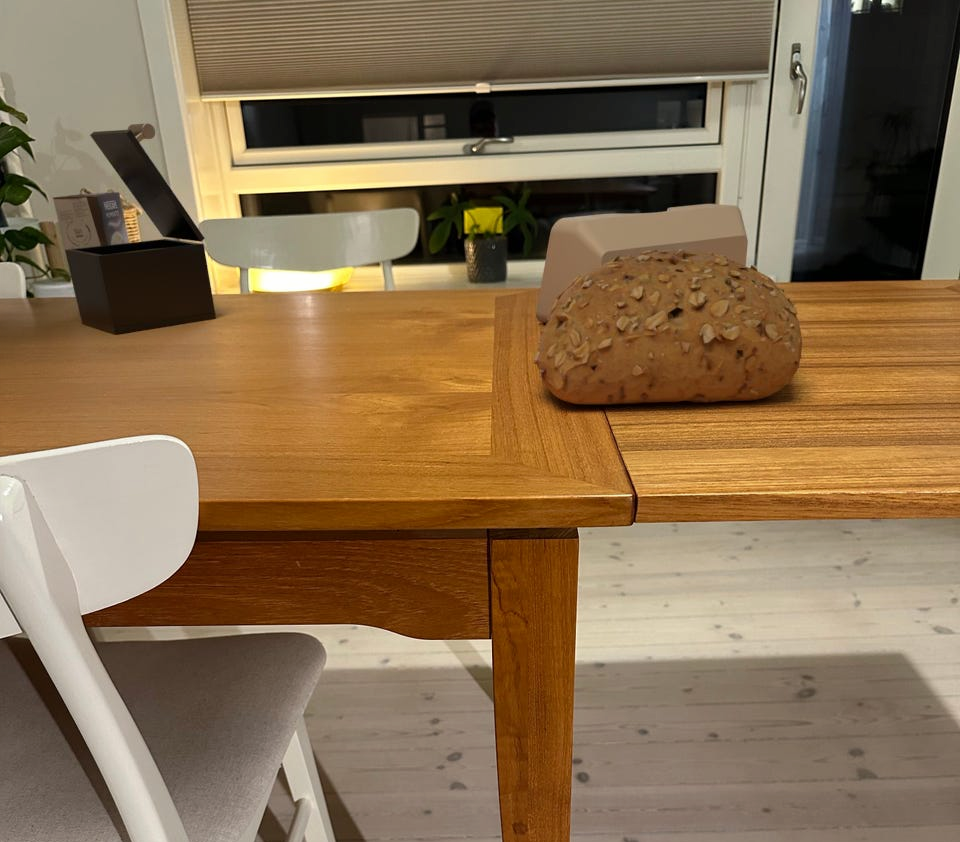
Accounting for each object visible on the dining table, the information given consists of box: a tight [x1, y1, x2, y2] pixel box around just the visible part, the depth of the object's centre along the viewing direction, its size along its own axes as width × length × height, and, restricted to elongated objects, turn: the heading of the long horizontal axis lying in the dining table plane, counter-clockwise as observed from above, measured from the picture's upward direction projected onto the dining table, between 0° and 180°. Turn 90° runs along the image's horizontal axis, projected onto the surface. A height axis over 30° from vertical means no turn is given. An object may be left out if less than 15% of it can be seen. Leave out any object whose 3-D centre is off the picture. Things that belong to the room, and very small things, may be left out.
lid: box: [89, 122, 206, 243], centre depth 129 cm, size 15×13×5 cm
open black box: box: [64, 238, 217, 335], centre depth 133 cm, size 15×13×10 cm
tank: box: [535, 203, 749, 324], centre depth 117 cm, size 25×16×12 cm, turn 119°
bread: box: [532, 249, 803, 406], centre depth 89 cm, size 24×21×12 cm
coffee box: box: [52, 191, 130, 315], centre depth 141 cm, size 9×6×16 cm
